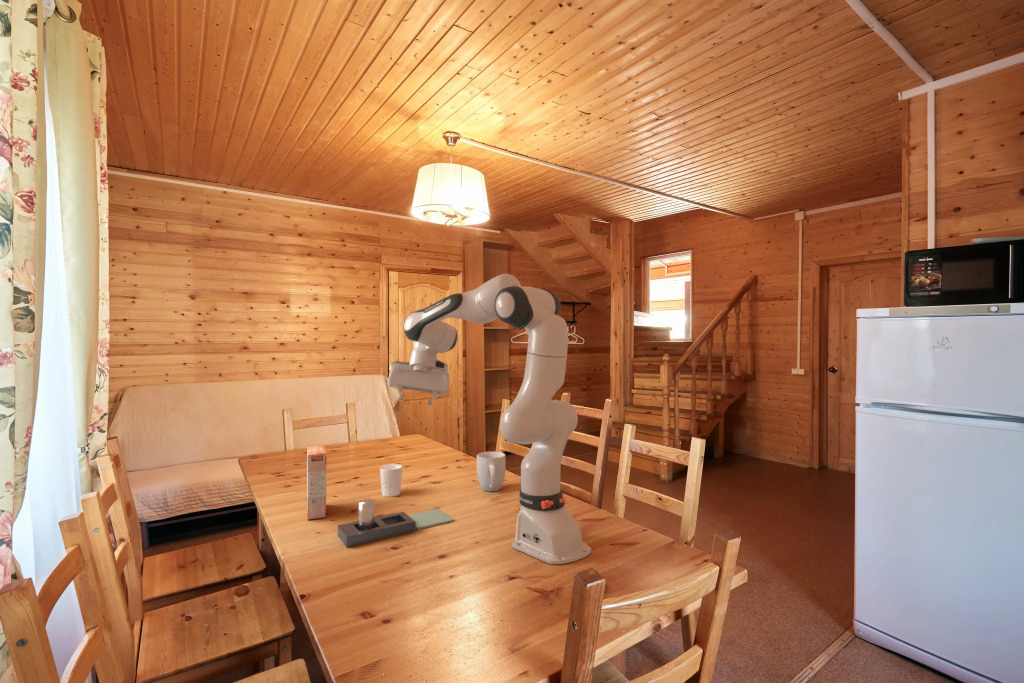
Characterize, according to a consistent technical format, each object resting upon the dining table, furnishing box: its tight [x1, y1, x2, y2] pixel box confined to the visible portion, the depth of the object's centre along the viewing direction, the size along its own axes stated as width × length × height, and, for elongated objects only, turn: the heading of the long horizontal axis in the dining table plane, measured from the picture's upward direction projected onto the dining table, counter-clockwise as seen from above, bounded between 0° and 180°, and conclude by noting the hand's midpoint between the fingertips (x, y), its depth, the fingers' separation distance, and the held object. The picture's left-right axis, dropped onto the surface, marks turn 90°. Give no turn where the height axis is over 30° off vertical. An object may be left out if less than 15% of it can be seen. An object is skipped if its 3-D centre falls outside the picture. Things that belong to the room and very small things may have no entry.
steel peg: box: [358, 498, 375, 531], centre depth 142 cm, size 4×4×10 cm
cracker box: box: [306, 445, 327, 520], centre depth 162 cm, size 14×6×21 cm, turn 23°
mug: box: [476, 451, 507, 493], centre depth 183 cm, size 15×11×13 cm
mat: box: [407, 508, 455, 531], centre depth 154 cm, size 12×12×1 cm
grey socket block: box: [337, 511, 417, 548], centre depth 144 cm, size 10×20×3 cm, turn 123°
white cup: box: [379, 463, 403, 497], centre depth 181 cm, size 8×8×10 cm
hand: (415, 402), depth 161 cm, fingers open, 8 cm apart
